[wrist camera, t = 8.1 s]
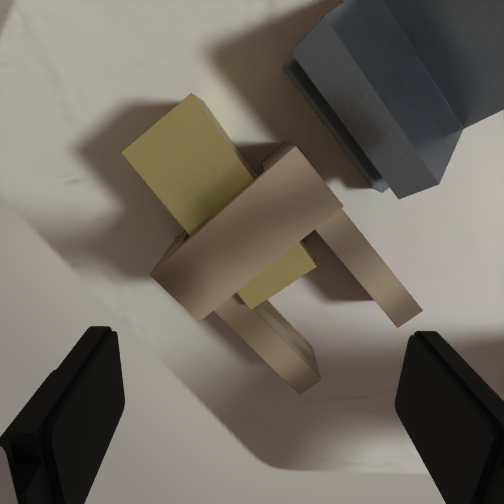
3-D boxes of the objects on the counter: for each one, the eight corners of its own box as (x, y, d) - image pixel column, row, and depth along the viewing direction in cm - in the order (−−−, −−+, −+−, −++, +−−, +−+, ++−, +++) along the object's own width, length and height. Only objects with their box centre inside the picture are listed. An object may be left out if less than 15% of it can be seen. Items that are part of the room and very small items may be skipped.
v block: (531, 62, 21) (632, 36, 16) (372, 188, 24) (410, 205, 18) (449, -91, 19) (534, -187, 13) (282, 68, 22) (293, 45, 16)
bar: (304, 242, 26) (316, 266, 21) (251, 278, 27) (251, 309, 22) (204, 101, 22) (191, 93, 18) (147, 148, 23) (120, 152, 19)
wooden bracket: (398, 285, 26) (442, 331, 20) (293, 360, 29) (304, 421, 23) (284, 142, 23) (295, 145, 17) (174, 240, 25) (149, 274, 19)
